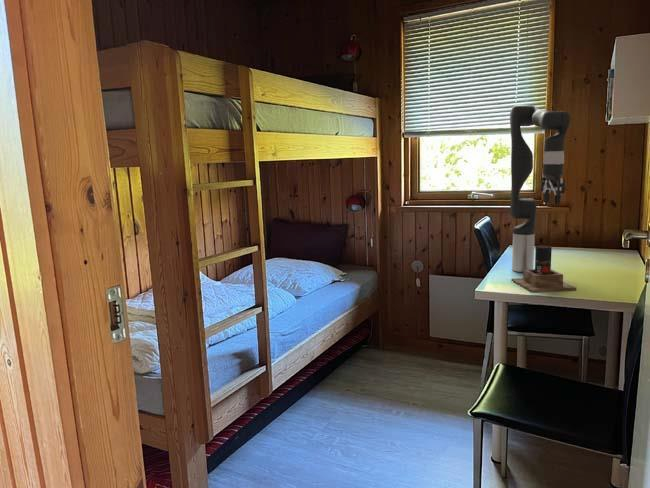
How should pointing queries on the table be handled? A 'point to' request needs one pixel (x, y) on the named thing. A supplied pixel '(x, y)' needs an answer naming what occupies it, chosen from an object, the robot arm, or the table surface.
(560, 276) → the well holder
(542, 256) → the deodorant
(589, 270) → the table surface
